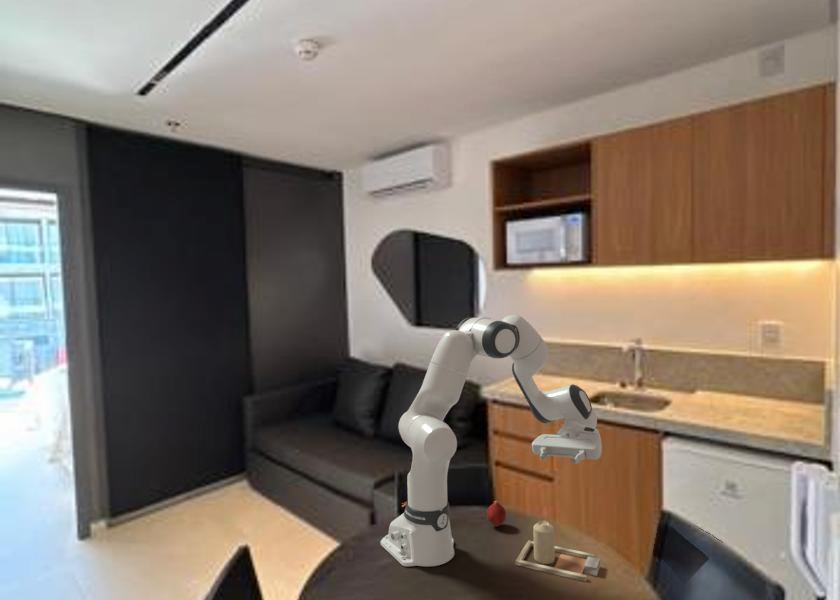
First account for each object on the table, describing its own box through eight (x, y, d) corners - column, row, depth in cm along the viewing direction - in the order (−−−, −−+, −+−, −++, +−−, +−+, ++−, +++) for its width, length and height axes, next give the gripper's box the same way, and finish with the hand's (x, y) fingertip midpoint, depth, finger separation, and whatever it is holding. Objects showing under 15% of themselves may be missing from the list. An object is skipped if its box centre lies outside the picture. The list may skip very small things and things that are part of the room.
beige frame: (515, 564, 135) (515, 557, 135) (528, 543, 146) (528, 536, 146) (594, 583, 126) (594, 575, 126) (602, 559, 137) (601, 552, 136)
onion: (496, 520, 161) (495, 495, 161) (510, 526, 157) (509, 500, 157) (483, 526, 158) (482, 500, 157) (497, 532, 153) (496, 506, 153)
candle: (555, 565, 134) (554, 528, 134) (534, 563, 135) (533, 526, 135) (554, 554, 140) (553, 518, 140) (533, 553, 141) (533, 517, 141)
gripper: (538, 426, 163) (522, 447, 151) (603, 429, 151) (591, 452, 140) (542, 444, 164) (526, 466, 152) (607, 449, 152) (595, 473, 141)
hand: (558, 459), depth 146 cm, fingers open, 8 cm apart
